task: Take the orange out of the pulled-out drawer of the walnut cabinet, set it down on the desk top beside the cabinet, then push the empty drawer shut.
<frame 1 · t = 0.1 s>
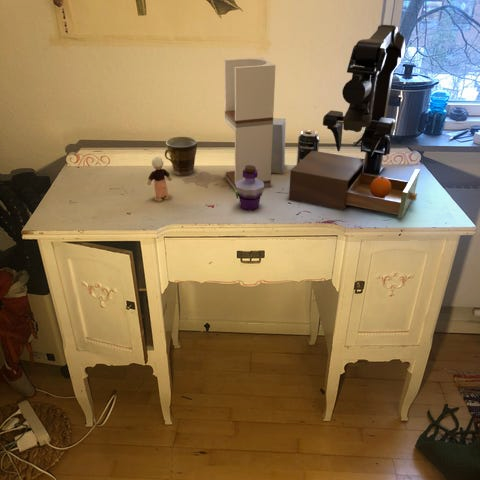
hand: (354, 153, 148), 15 cm above the table, tool pointing down, fingers open, 9 cm apart
beverage can: (306, 169, 177), on the table
grandmother figurine: (160, 199, 158), on the table
ceramic cup: (180, 173, 174), on the table
cosmetic box: (273, 169, 177), on the table
potion bottle: (249, 207, 154), on the table
white tower: (247, 182, 168), on the table
orange: (378, 197, 155), point 2 cm above the table, touching drawer
drawer: (384, 188, 153), point 5 cm above the table, slide at 15.0 cm, touching orange
cabinet: (325, 193, 162), on the table
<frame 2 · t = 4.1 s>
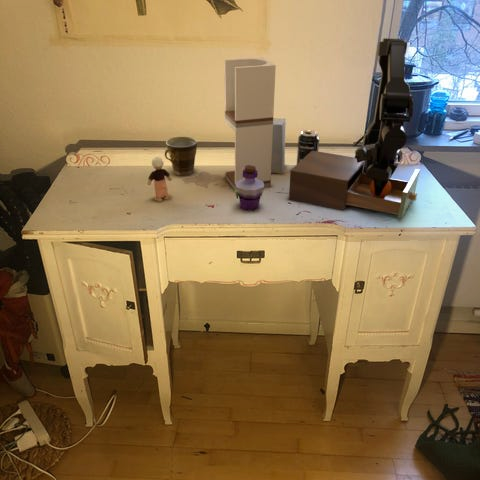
hand: (379, 191, 154), 4 cm above the table, tool pointing down, fingers closed on orange, 6 cm apart
orange: (378, 197, 155), point 2 cm above the table, touching drawer, gripper
everything else where it was.
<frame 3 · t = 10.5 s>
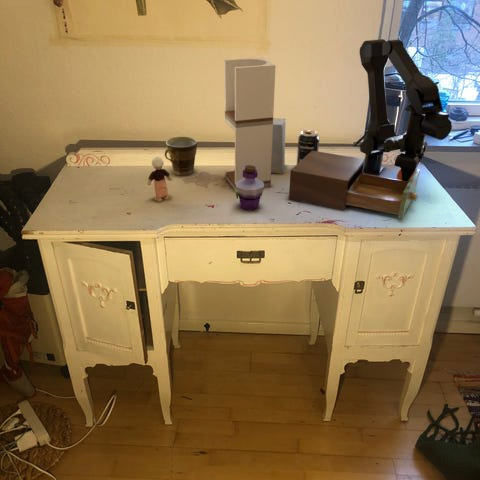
hand: (406, 180, 164), 2 cm above the table, tool pointing down, fingers closed on orange, 6 cm apart
orange: (405, 185, 165), point 1 cm above the table, touching gripper
drawer: (384, 188, 153), point 5 cm above the table, slide at 15.1 cm
everything else where it was.
when the fingers open (2 cm above the table, at t = 14.4 s): orange stays where it is, on the table.
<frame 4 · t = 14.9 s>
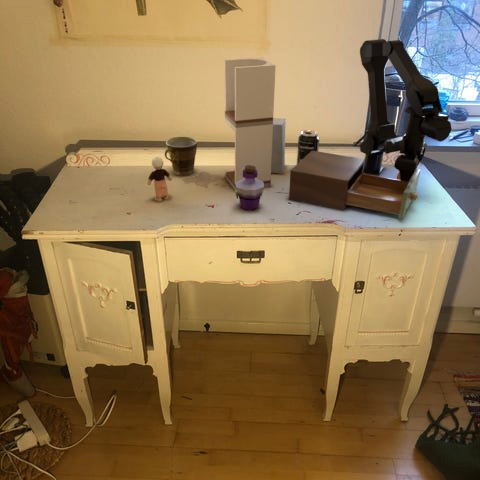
hand: (405, 181, 164), 2 cm above the table, tool pointing down, fingers open, 9 cm apart
orange: (404, 187, 165), on the table
everything else where it was.
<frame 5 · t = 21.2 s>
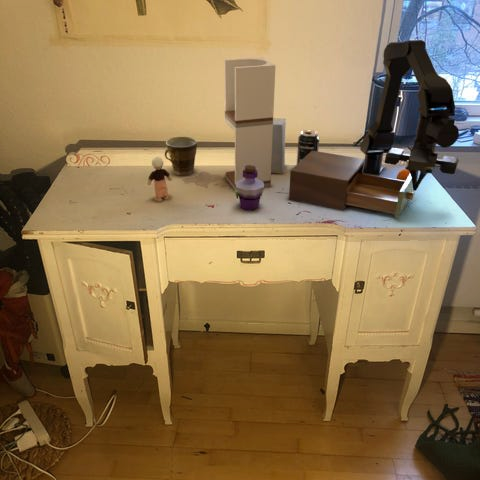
hand: (414, 190, 149), 6 cm above the table, tool pointing down, fingers closed
drawer: (381, 188, 153), point 5 cm above the table, slide at 14.1 cm, touching gripper
everything else where it was.
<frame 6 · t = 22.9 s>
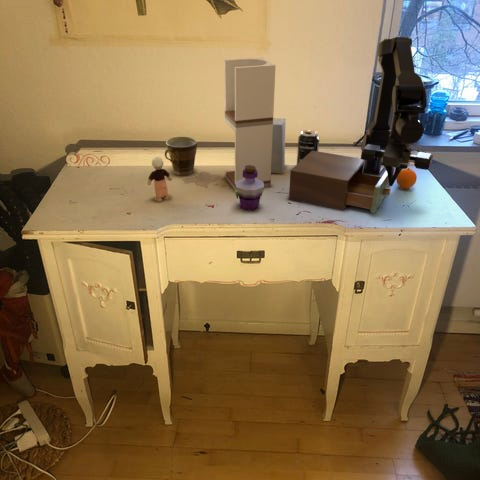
hand: (391, 185, 152), 6 cm above the table, tool pointing down, fingers closed
drawer: (358, 183, 155), point 5 cm above the table, slide at 7.4 cm, touching gripper
everything else where it was.
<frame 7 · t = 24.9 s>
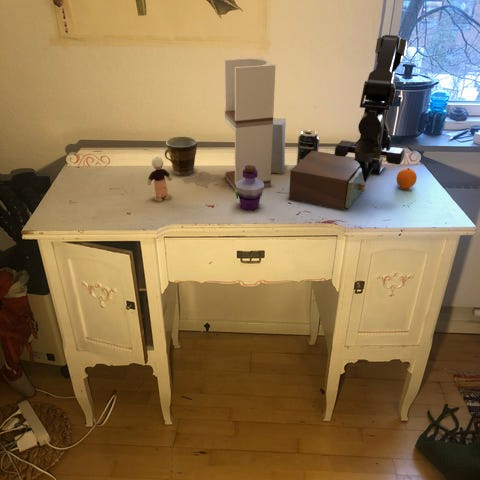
hand: (365, 181, 154), 6 cm above the table, tool pointing down, fingers closed
drawer: (334, 179, 158), point 5 cm above the table, slide at -0.1 cm, touching gripper
everything else where it was.
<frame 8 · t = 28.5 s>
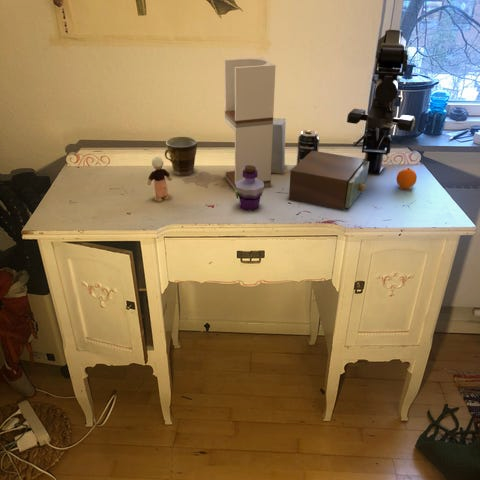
hand: (376, 148, 159), 12 cm above the table, tool pointing down, fingers closed
drawer: (334, 179, 158), point 5 cm above the table, slide at 0.0 cm
everything else where it was.
at the end: orange inside the target area (0.0 cm from its centre), on the table; drawer slide at 0.0 cm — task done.
